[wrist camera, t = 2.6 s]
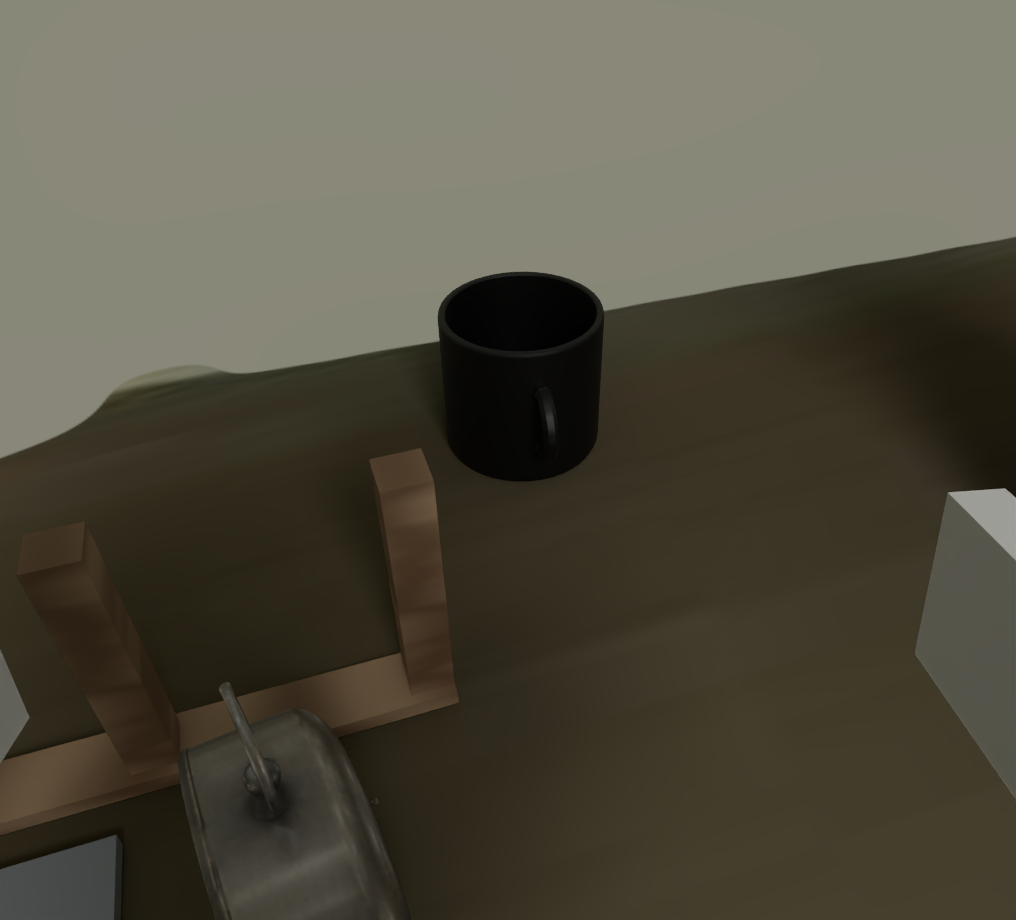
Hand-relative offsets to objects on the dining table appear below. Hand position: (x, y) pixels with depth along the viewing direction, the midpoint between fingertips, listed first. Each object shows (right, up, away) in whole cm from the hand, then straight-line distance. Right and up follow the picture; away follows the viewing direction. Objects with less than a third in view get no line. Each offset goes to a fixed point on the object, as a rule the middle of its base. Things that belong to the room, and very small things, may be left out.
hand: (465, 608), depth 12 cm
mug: (+2, +3, +41) cm, 41 cm away
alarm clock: (-5, -16, +19) cm, 25 cm away
